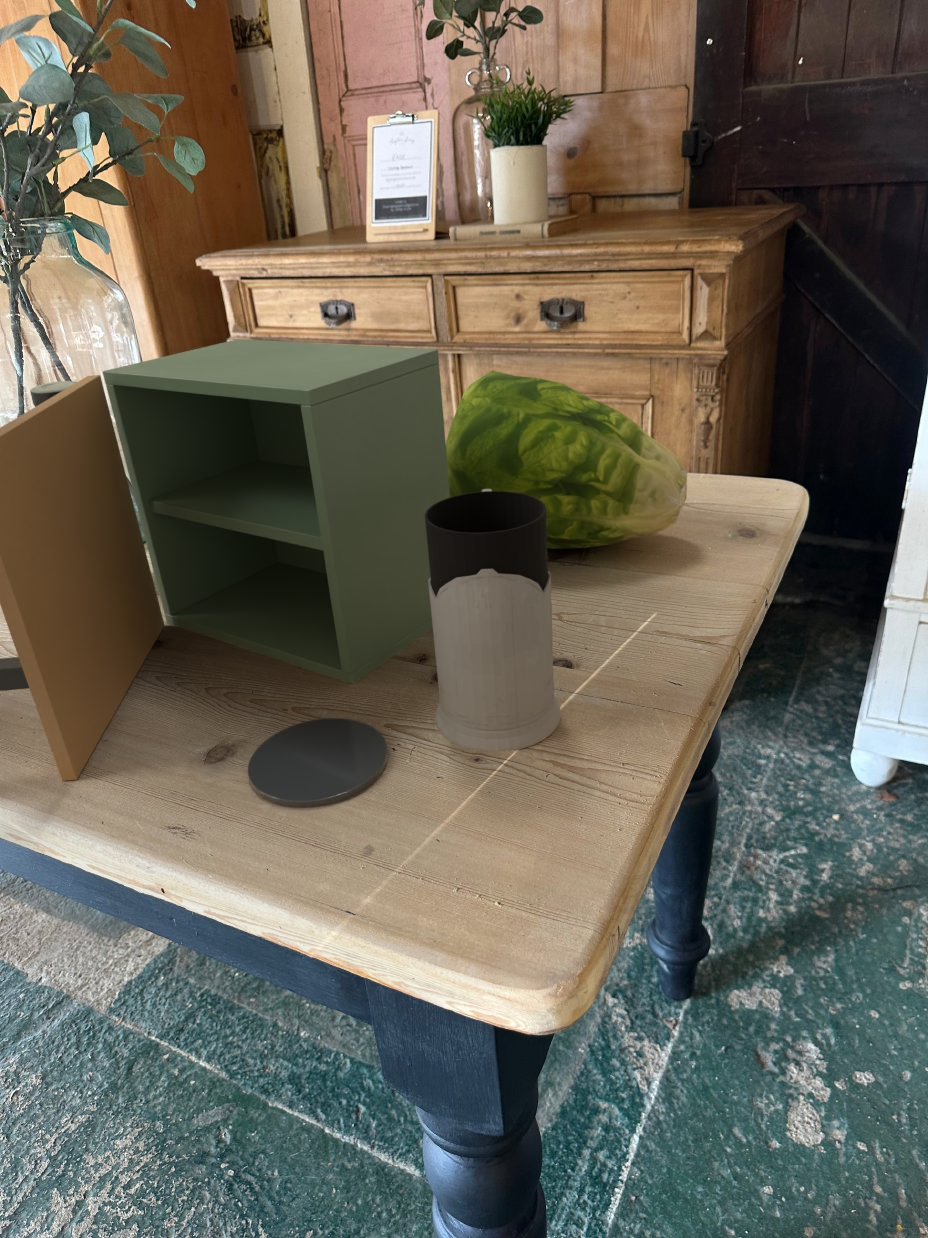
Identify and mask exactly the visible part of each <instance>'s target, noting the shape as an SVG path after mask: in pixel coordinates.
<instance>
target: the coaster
mask: <svg viewBox="0 0 928 1238" xmlns="http://www.w3.org/2000/svg"><path fill="white" fill-rule="evenodd" d="M388 759H389V753H388V745H387V741H386V740H385V738H384V736H383V735H382V734H381V732H380V731H378V730H377V729H376V728H374V727H373V726H371V725H369V724H367V723H365V722H362V721H359V720H355V719H350V718H341V717H330V718H329V717H328V718H327V717H326V718H319V719H312V720H307V721H304V722H300V723H296V724H294V725H290V726H288V727H287V728H284V729H281V730H280V731H278V732H276V733H274V734H273V735H271V736H270V737H267V739H266V740H264V741H263V742H262V743H261V744H260V745H259V746H258V747H257V748H256V750H255V751H254V752H253V754H252V755H251V756H250V759H249V762H248V766H247V776H248V780H249V784H250V786H251V788H252V790H253V791H254V792H255V794H256V795H258V796H259V797H260V798H261V799H264V800H265V801H267V802H268V803H270V804H273V805H277V806H280V807H286V808H293V809H294V808H295V809H312V808H318V807H319V808H320V807H325V806H330V805H334V804H338V803H340V802H343V801H345V800H348V799H350V798H352V797H354V796H358V794H360V793H362V792H363V791H365V790H366V789H368V788H369V787H371V786H372V785H373V784H374V783H375V782H376V781H377V780H378V779H379V778H380V777H381V775H382V774H383V772H384V771H385V769H386V767H387V764H388Z"/></svg>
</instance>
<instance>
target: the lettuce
mask: <svg viewBox="0 0 928 1238" xmlns="http://www.w3.org/2000/svg"><path fill="white" fill-rule="evenodd" d="M445 443H446V456H447V468H448V481H449V493H450V497H453V496H457V495H462V494H467V493H474V492H482V490H483V489H492V491H507V492H516V493H522V494H526V495H530V496H533V497H535V498H537V499H539V500H541V501H542V502H543V503H544V504H545V506H546V523H547V549H556V550H557V549H559V550H568V549H569V550H574V549H586V548H594V547H595V548H596V547H601V546H608V545H613V544H617V543H619V542H622V541H623V542H624V541H625V540H629V539H636V538H640V537H648V536H653V535H656V534H658V533H660V532H663V531H665V530H667V529H668V528H670V527H671V526H673V525H675V524H676V523H677V522H678V521H677V520H678V518H679V516H680V514H681V512H682V509H683V508H684V505H685V503H686V502H687V497H688V491H687V490H688V471H687V469H686V468H685V467H684V465H683V463H682V462H681V461H680V459H679V458H678V457H677V456H676V455H675V454H674V453H673V452H672V450H670V449H668V448H667V447H665V446H664V445H663V444H661V443H660V442H659V441H657V440H656V439H654V438H653V437H652V436H650V435H649V434H648V432H646V430H644V429H643V428H642V427H641V426H640V425H639V424H638V422H636V421H634V420H633V419H631V418H630V417H629V416H627V415H626V414H624V413H622V412H621V411H620V410H617V409H615V408H613V407H611V406H609V405H607V404H605V403H603V402H601V401H598V400H596V399H593V398H591V397H588V396H586V395H585V394H583V393H581V392H579V391H577V390H575V389H573V388H572V387H570V386H569V385H567V384H565V383H561V382H558V381H553V380H549V379H546V378H540V377H531V376H519V375H513V374H509V373H505V372H500V371H497V370H496V371H495V370H491V371H489V372H488V373H486V374H484V375H482V377H480V378H478V379H476V380H475V381H473V382H471V383H470V385H468V387H467V388H466V390H465V391H464V392H463V394H462V397H461V399H460V402H459V404H458V406H457V409H456V412H455V413H454V416H453V419H452V421H451V424H450V427H449V430H448V434H447V437H446V440H445Z"/></svg>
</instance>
